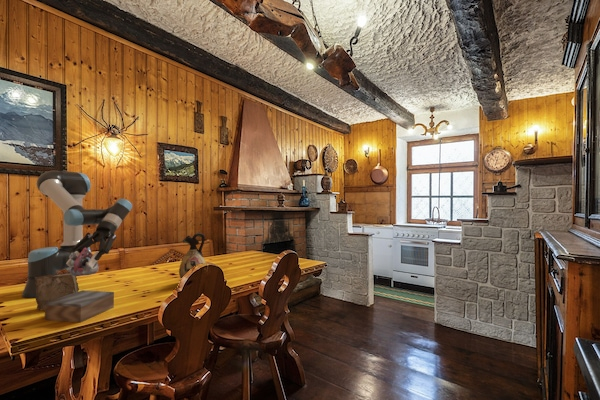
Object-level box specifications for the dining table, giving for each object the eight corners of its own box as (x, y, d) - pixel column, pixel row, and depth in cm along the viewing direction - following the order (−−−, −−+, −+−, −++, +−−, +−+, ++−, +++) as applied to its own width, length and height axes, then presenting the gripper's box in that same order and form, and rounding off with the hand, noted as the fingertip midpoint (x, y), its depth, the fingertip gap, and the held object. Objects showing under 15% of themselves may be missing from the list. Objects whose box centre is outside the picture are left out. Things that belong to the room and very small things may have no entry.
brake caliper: (89, 271, 119) (73, 247, 119) (69, 287, 119) (52, 263, 120) (109, 265, 130) (94, 243, 131) (90, 280, 131) (75, 258, 131)
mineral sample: (80, 303, 136) (81, 271, 136) (78, 306, 132) (78, 273, 132) (35, 308, 130) (35, 274, 130) (30, 311, 126) (31, 276, 126)
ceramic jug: (179, 288, 162) (179, 234, 162) (178, 281, 176) (179, 232, 177) (210, 285, 169) (211, 233, 169) (208, 279, 183) (208, 231, 183)
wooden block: (44, 320, 116) (45, 302, 117) (81, 305, 133) (82, 290, 133) (80, 322, 114) (80, 304, 115) (113, 307, 131) (113, 291, 131)
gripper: (133, 230, 140) (107, 271, 124) (93, 230, 143) (61, 269, 127) (126, 220, 135) (97, 261, 119) (83, 219, 138) (50, 259, 121)
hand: (79, 265), depth 123 cm, fingers closed on brake caliper, 9 cm apart
